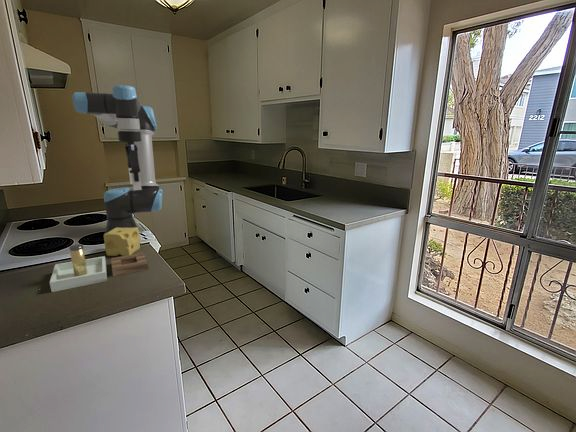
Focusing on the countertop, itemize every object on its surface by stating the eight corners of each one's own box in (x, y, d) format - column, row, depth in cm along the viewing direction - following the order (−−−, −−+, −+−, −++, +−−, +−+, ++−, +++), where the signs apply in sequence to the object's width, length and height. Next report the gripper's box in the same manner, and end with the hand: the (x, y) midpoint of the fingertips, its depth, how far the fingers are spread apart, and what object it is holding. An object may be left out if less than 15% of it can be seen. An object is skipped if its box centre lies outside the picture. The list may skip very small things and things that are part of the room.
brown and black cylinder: (74, 272, 113) (70, 245, 110) (87, 270, 115) (83, 243, 111) (73, 277, 109) (68, 249, 106) (87, 275, 111) (82, 247, 108)
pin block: (111, 264, 123) (111, 258, 122) (144, 258, 129) (143, 252, 128) (113, 276, 113) (112, 270, 112) (148, 269, 119) (147, 263, 118)
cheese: (129, 256, 130) (126, 234, 127) (104, 256, 130) (101, 234, 127) (141, 247, 140) (139, 227, 137) (118, 247, 140) (115, 226, 138)
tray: (57, 272, 115) (55, 264, 114) (106, 264, 123) (104, 256, 122) (51, 292, 102) (49, 282, 101) (107, 281, 109) (105, 272, 108)
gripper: (116, 129, 122) (123, 182, 128) (119, 131, 101) (127, 193, 107) (136, 130, 126) (142, 181, 131) (144, 131, 105) (150, 191, 111)
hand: (135, 187), depth 119 cm, fingers open, 13 cm apart
